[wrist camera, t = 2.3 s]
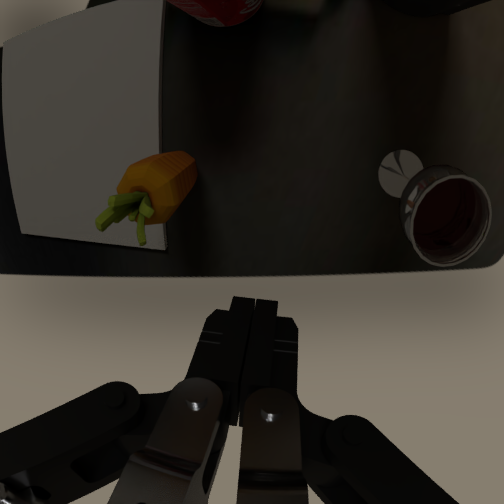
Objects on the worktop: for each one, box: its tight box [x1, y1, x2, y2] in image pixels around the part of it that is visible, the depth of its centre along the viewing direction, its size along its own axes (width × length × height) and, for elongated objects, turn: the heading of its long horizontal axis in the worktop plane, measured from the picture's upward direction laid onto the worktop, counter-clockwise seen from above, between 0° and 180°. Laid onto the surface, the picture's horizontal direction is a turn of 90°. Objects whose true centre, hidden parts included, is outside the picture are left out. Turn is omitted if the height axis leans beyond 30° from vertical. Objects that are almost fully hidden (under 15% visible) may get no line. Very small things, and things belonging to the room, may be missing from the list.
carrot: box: [95, 151, 198, 246], centre depth 24 cm, size 5×5×15 cm
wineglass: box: [378, 150, 492, 267], centre depth 23 cm, size 7×7×12 cm
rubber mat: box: [2, 0, 168, 250], centre depth 29 cm, size 24×28×1 cm
